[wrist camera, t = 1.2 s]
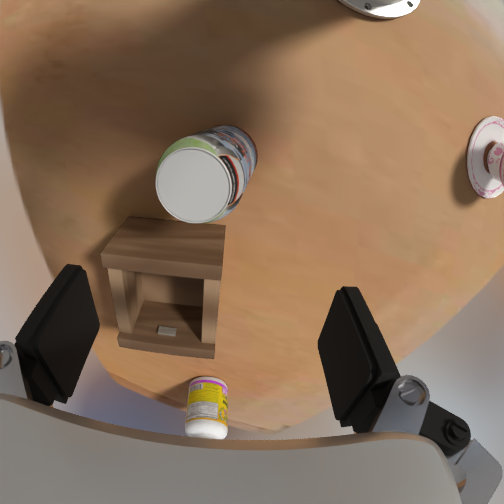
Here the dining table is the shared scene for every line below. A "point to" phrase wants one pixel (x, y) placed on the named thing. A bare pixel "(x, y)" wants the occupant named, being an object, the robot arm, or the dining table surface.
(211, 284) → the holder
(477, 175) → the teacup
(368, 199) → the dining table surface
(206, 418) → the supplement bottle
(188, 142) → the beverage can
